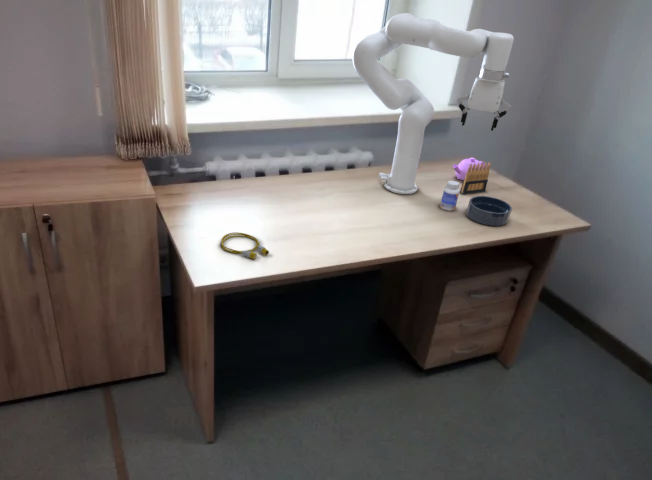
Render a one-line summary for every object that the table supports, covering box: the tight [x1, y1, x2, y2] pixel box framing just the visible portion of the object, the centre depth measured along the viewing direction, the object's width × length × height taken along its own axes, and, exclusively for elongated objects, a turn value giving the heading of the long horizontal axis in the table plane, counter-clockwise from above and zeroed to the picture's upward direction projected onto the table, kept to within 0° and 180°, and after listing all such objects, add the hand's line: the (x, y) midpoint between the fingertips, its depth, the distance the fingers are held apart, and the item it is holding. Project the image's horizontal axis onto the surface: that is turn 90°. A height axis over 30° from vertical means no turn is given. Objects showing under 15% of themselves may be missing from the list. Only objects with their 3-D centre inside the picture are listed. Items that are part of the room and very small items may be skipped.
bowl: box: [465, 195, 513, 227], centre depth 185 cm, size 14×14×5 cm
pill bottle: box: [439, 180, 460, 212], centre depth 189 cm, size 5×5×10 cm
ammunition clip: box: [459, 161, 492, 195], centre depth 202 cm, size 11×2×12 cm, turn 111°
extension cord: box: [220, 232, 270, 260], centre depth 158 cm, size 12×16×2 cm
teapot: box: [452, 157, 486, 182], centre depth 212 cm, size 10×15×9 cm
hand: (477, 127), depth 180 cm, fingers open, 9 cm apart
